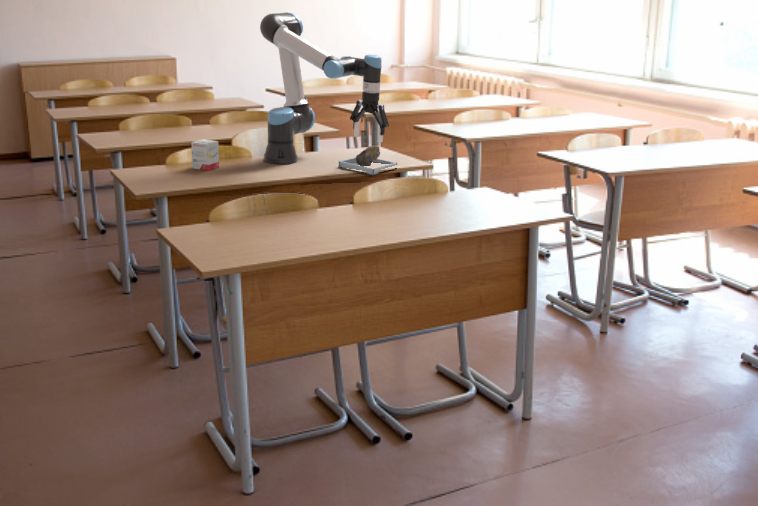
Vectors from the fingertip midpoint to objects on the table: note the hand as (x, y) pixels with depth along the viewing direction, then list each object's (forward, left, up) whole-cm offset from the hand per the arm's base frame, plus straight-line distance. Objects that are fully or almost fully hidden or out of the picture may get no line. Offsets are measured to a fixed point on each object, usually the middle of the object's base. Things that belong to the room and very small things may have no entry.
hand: (368, 139), depth 372 cm
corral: (0, 0, -13) cm, 13 cm away
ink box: (-48, -53, -13) cm, 72 cm away
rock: (0, 0, -13) cm, 13 cm away
